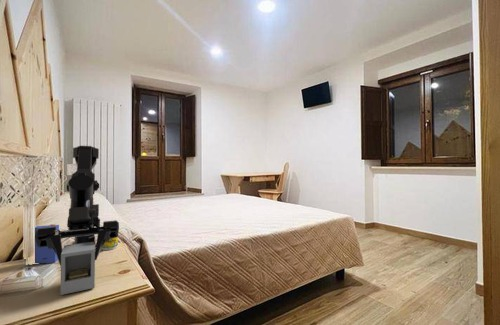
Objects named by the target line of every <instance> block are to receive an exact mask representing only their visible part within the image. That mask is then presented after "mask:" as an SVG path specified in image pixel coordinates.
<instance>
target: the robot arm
mask: <svg viewBox="0 0 500 325" xmlns="http://www.w3.org/2000/svg"><path fill="white" fill-rule="evenodd" d="M99 150H100V148H98V147H95V146H92V145H78V146H75V147H73V148H72V158H73V159H75V164H76V171H75V172H73V173H72V174H71V178H70V179H69V180H68V181H67V183H66V192H67V193H69V199H70V207H69V209H68V217H67V222H66V223H67V224H66V225H67V228H68V229H65V230H60V229H59V230H56V226H54V227H43V228H39V229H38V230H36V233H35V240H36V243H37V247H48V248H49V249H53V250H54V251H55V253H56V255H57V258H58V260H57V262H58V264H59V266H60V267H61V253H62V250H63V246H62V239H68V238H74V244H80V243H88V242H95V261H97V260H98V257H99V255H100V252H101V250H102V247H103V245H104V243H105V242H106V241H109V240H110V238H116V237H118V238H119V231H120V224H119V221H118V220H117V219H116V220H108V221H107V220H105V221H103V222H102V226H101V224H100V223H101V219H100V218H99V214H100V213H99V211H100V209H99V208H100V205H99V204H94V195H95V192H98V189H100V182H98V179H97V180H96V179H95V178H96V177H95V176H96V175H95V173H94V172H93V170H94V168H95V167H96V165H97V159H99V158H100V157H99V156H100V155H99V154H100V153H99ZM96 235H97V238H96Z"/></svg>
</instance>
